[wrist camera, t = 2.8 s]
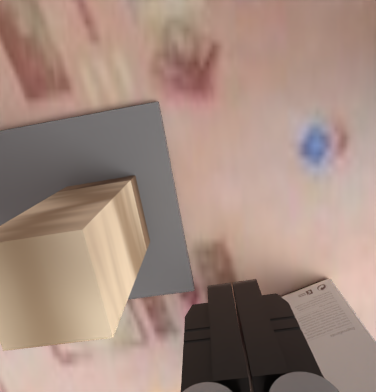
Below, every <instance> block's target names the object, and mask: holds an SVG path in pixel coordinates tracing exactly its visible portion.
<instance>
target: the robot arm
mask: <svg viewBox="0 0 376 392" xmlns="http://www.w3.org/2000/svg"><path fill="white" fill-rule="evenodd" d="M233 290H234V296H235V303H236V309H235V303H234V298H233V293H232V288H231V283H225V284H217V285H210V286H208V303H203V304H195V305H192V307H191V308H190V310H189V311H188V313H187V315H186V316H185V333H184V347H183V365H182V383H181V392H339V391H338V389H337V388H336V387H335V386H334V385H333V384H332V383H330V382H329V381H328V380H326V379H325V378H324V376H323V374H322V373H321V371H320V368H319V366H318V364H317V362H316V360H315V358H314V356H313V353H312V351H311V349H310V347H309V345H308V343H307V341H306V339H305V336H304V334H303V332H302V330H301V329H300V326H299V324H298V321H297V319H296V318H295V315H294V313H293V311H292V309H291V307H290V304H289V303H288V302H287V301H286V300H284V299H283V298H282V297H281V296H279V295H278V294H270V295H261V292H260V289H259V286H258V283H257V280H256V279H253V280H246V281H239V282H233ZM236 310H237V314H236ZM237 316H238V319H237ZM238 323H239V324H238ZM250 389H251V390H250Z"/></svg>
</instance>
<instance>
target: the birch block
mask: <svg viewBox="0 0 376 392" xmlns="http://www.w3.org/2000/svg"><path fill="white" fill-rule="evenodd" d="M149 243H150V238H149V234H148V229H147V225H146V221H145V216H144V212H143V207H142V203H141V198H140V194H139V189H138V185H137V180H136V176H135V175H134V176H128V177H122V178H116V179H110V180H104V181H98V182H92V183H86V184H80V185H74V186H68V187H65V188H63V189H62V190H60V191H58V192H57V193H55V194H53V195H52V196H50V197H48V198H47V199H45V200H43V201H41V202H40V203H38V204H36V205H35V206H33V207H31V208H30V209H28V210H26V211H24V212H23V213H21V214H19V215H18V216H16V217H14V218H13V219H11V220H9V221H8V222H6V223H4V224H2V225H1V226H0V343H1V346H2V348H3V351H7V350H15V349H23V348H32V347H40V346H48V345H57V344H65V343H74V342H82V341H90V340H99V339H107V338H113V336H114V334H115V331H116V329H117V326H118V323H119V321H120V318H121V316H122V313H123V310H124V308H125V305H126V303H127V300H128V298H129V295H130V292H131V290H132V287H133V285H134V282H135V279H136V277H137V274H138V272H139V269H140V267H141V264H142V261H143V259H144V256H145V254H146V251H147V248H148V246H149Z"/></svg>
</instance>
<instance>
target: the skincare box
mask: <svg viewBox="0 0 376 392" xmlns="http://www.w3.org/2000/svg"><path fill="white" fill-rule="evenodd" d="M282 298H283V299H284V300H286V301H287V302H288V303H289V304H290V307H291V309H292V311H293V313H294V315H295V318H296V319H297V321H298V324H299V326H300V329H301V330H302V332H303V334H304V336H305V339H306V341H307V343H308V345H309V347H310V349H311V351H312V353H313V356H314V358H315V360H316V362H317V364H318V366H319V368H320V371H321V373H322V374H323V376H324V378H325V379H326V380H328V381H329V382H330V383H332V384H333V385H334V386H335V387H336V388H337V389H338V391H339V392H376V341H375V340H374V338H373V337H372V336H371V334H370V333H369V331H368V330H367V329H366V327H365V326H364V324H363V323H362V322H361V320H360V319H359V318H358V316H357V315H356V313H355V312H354V310H353V309H352V308H351V306H350V305H349V304H348V302H347V301H346V299H345V298H344V297H343V295H342V294H341V292H340V291H339V290H338V288H337V287H336V286H335V284H334V283H333V281H332V280H331V279H326V280H323V281H321V282H318V283H315V284H313V285H311V286H308V287H305V288H303V289H300V290H298V291H295V292H293V293H290V294H287V295H285V296H282Z"/></svg>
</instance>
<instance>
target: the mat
mask: <svg viewBox="0 0 376 392" xmlns="http://www.w3.org/2000/svg"><path fill="white" fill-rule="evenodd" d="M134 175H135V176H136V180H137V185H138V189H139V194H140V198H141V203H142V207H143V212H144V216H145V221H146V225H147V229H148V234H149V238H150V243H149V246H148V248H147V251H146V254H145V256H144V259H143V261H142V264H141V267H140V269H139V272H138V274H137V277H136V279H135V282H134V285H133V287H132V290H131V292H130V295H129V298H128V299H135V298H143V297H151V296H158V295H166V294H174V293H181V292H189V291H194V283H193V278H192V273H191V268H190V262H189V257H188V252H187V247H186V241H185V236H184V231H183V226H182V221H181V215H180V210H179V205H178V200H177V195H176V189H175V184H174V179H173V174H172V169H171V163H170V158H169V153H168V148H167V143H166V137H165V132H164V127H163V122H162V116H161V111H160V106H159V102H153V103H148V104H142V105H137V106H131V107H126V108H121V109H115V110H110V111H105V112H99V113H94V114H88V115H83V116H78V117H72V118H67V119H62V120H56V121H51V122H45V123H40V124H35V125H29V126H24V127H19V128H13V129H8V130H2V131H0V226H1V225H2V224H4V223H6V222H8V221H9V220H11V219H13V218H14V217H16V216H18V215H19V214H21V213H23V212H24V211H26V210H28V209H30V208H31V207H33V206H35V205H36V204H38V203H40V202H41V201H43V200H45V199H47V198H48V197H50V196H52V195H53V194H55V193H57V192H58V191H60V190H62V189H63V188H65V187H68V186H74V185H80V184H86V183H92V182H98V181H104V180H110V179H116V178H122V177H128V176H134Z"/></svg>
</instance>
